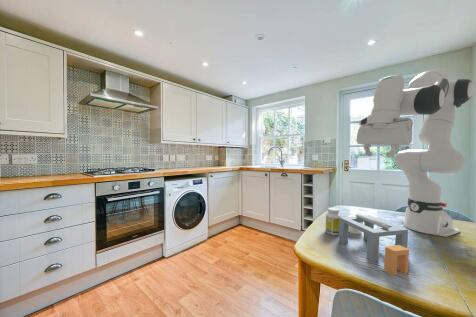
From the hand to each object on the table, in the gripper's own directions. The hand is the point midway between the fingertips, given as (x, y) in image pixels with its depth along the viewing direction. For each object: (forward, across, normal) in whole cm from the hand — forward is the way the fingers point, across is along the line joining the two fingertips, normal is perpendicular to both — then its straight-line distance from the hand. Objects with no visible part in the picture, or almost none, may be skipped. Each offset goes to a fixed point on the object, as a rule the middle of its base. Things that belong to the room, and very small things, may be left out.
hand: (378, 156), depth 76 cm
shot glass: (+36, +14, -9) cm, 39 cm away
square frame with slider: (+36, -1, -2) cm, 36 cm away
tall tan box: (+36, -15, +2) cm, 39 cm away
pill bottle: (+37, +15, +2) cm, 40 cm away
